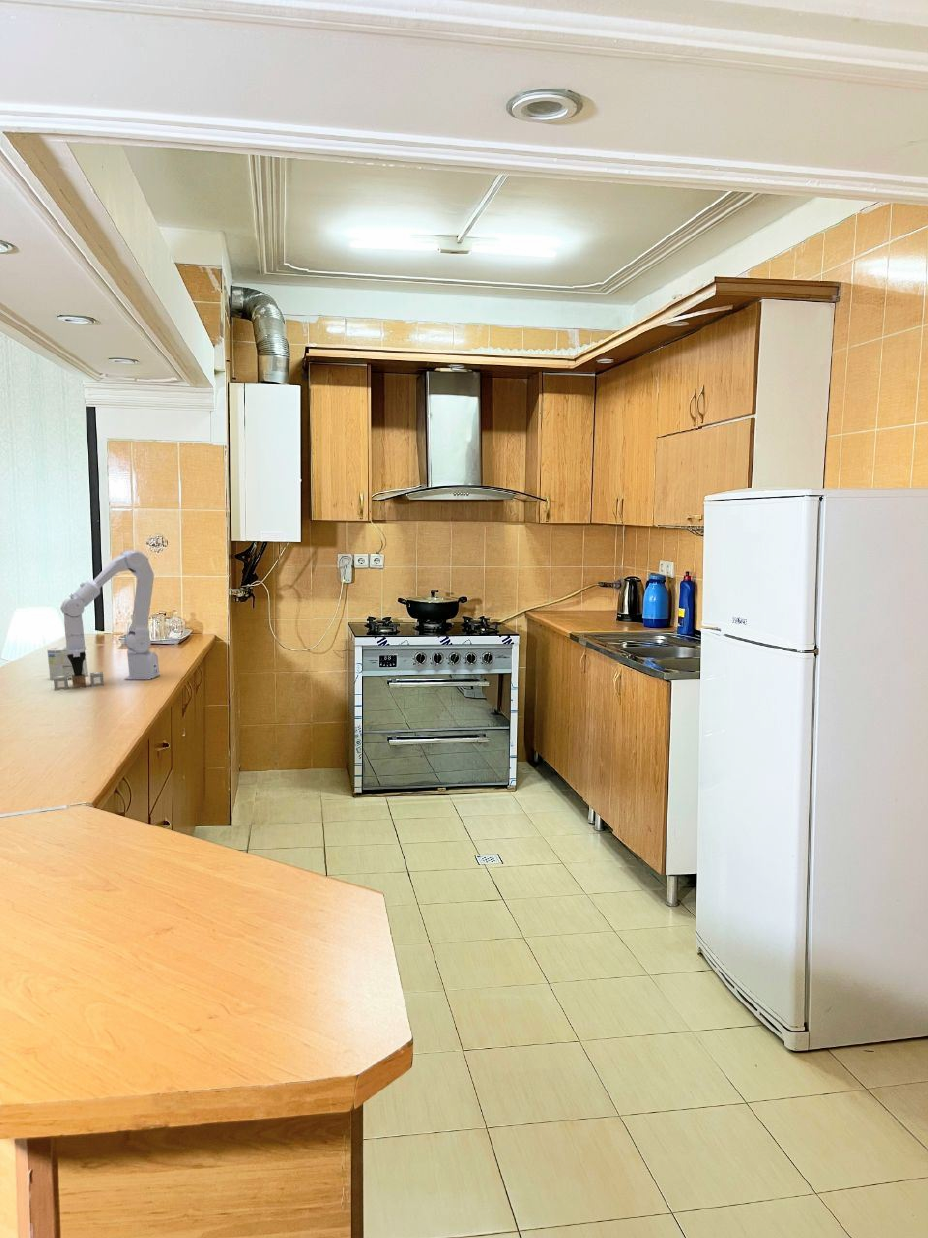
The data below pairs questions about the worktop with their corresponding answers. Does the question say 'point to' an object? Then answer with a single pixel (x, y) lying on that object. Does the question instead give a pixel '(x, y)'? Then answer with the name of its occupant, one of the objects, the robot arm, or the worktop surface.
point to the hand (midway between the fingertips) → (78, 675)
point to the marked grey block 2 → (96, 678)
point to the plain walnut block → (79, 681)
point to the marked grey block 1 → (60, 682)
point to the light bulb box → (62, 663)
